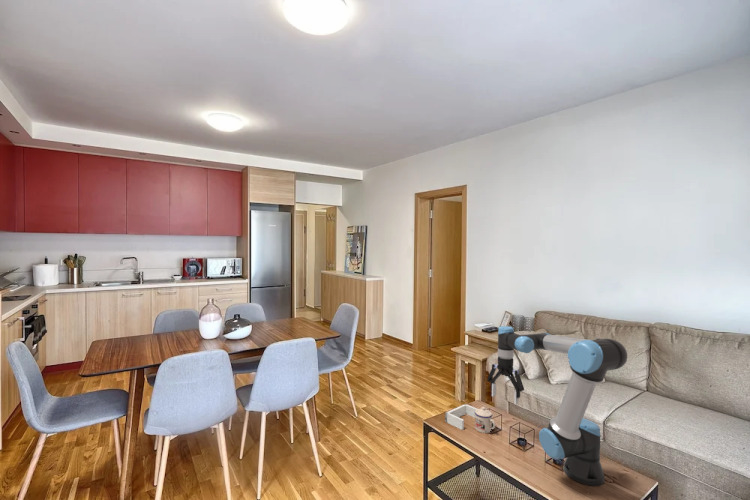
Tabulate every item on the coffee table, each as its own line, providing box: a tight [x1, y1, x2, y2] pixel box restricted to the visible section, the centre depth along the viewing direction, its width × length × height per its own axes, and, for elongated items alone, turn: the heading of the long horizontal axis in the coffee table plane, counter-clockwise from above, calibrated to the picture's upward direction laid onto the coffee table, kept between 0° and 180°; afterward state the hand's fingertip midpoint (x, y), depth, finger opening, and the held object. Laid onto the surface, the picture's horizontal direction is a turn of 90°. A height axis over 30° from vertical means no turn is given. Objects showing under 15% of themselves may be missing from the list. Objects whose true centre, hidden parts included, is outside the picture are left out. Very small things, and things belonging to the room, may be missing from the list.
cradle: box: [444, 403, 478, 431], centre depth 201 cm, size 12×19×5 cm, turn 130°
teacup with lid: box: [474, 406, 496, 434], centre depth 190 cm, size 12×9×12 cm
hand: (504, 399), depth 182 cm, fingers open, 12 cm apart
